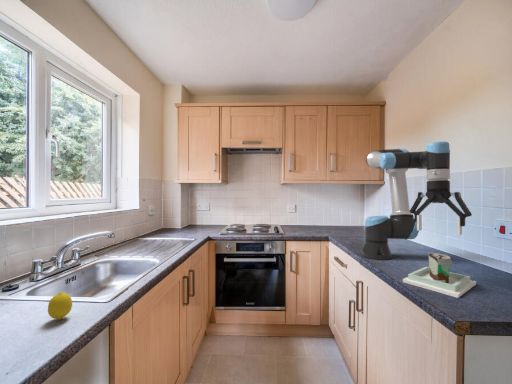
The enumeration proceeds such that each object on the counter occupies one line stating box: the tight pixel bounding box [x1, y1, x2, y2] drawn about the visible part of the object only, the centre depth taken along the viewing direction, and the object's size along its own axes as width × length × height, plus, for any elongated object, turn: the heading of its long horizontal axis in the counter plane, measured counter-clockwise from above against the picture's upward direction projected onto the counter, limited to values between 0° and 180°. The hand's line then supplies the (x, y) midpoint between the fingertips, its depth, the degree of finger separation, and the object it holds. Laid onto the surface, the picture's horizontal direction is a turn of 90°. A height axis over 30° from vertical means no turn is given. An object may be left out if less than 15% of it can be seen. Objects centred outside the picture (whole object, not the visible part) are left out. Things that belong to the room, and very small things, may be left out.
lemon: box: [47, 292, 73, 321], centre depth 69 cm, size 6×6×8 cm
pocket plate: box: [402, 266, 477, 299], centre depth 96 cm, size 18×21×3 cm
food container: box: [427, 251, 453, 283], centre depth 95 cm, size 12×6×10 cm, turn 159°
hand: (438, 232), depth 96 cm, fingers open, 13 cm apart
